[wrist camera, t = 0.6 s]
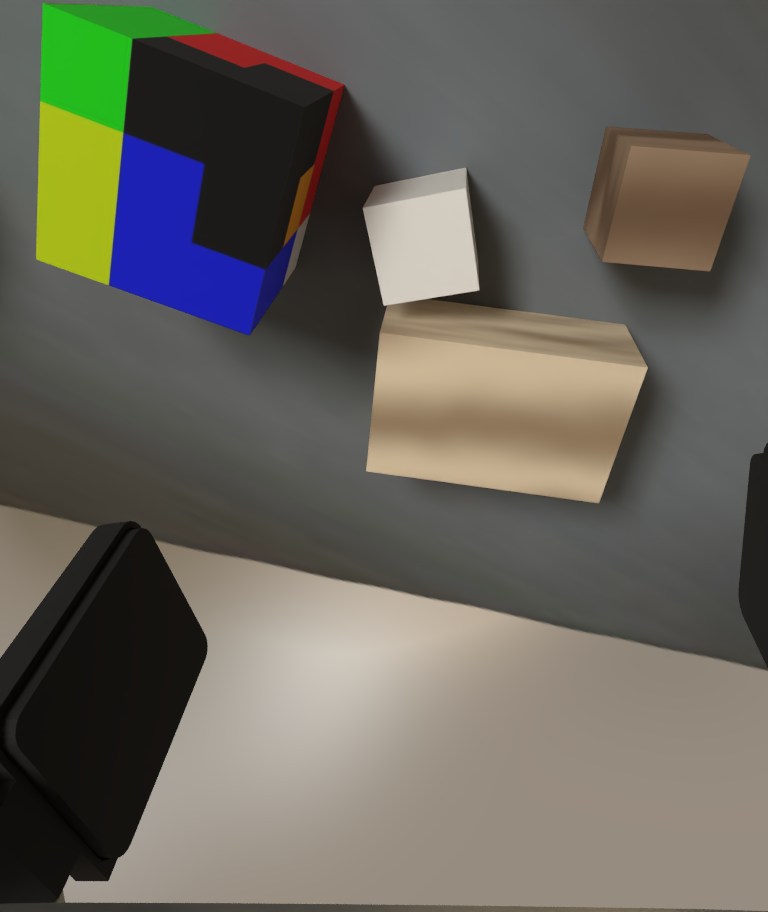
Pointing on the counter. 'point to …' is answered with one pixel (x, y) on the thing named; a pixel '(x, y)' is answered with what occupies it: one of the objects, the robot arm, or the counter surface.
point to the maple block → (501, 398)
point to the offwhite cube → (423, 237)
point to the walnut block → (662, 197)
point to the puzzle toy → (176, 159)
